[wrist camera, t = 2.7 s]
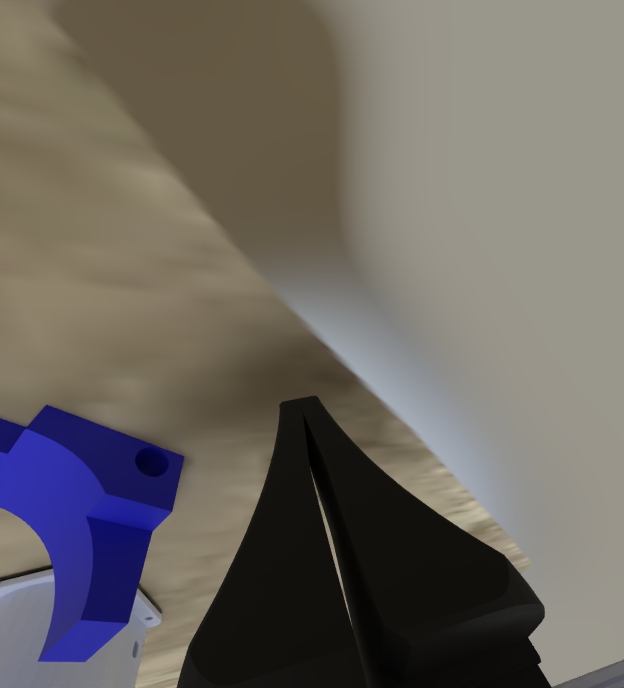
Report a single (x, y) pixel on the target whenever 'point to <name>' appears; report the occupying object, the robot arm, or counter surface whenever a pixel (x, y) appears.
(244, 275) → the counter surface
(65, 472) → the cable clip
